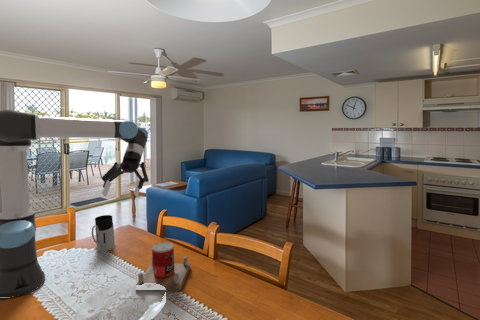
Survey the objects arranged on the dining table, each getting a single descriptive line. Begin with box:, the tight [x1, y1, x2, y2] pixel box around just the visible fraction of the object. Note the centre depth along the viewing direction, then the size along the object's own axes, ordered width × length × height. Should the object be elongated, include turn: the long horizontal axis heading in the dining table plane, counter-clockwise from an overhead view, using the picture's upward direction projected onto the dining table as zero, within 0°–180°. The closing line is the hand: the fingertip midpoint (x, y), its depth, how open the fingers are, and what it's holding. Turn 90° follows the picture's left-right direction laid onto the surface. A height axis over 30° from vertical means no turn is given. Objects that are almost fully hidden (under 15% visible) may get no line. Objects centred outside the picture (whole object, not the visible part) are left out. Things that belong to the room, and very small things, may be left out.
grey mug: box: [91, 214, 117, 252], centre depth 132 cm, size 9×14×15 cm, turn 176°
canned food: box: [151, 241, 175, 279], centre depth 106 cm, size 8×8×11 cm
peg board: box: [135, 256, 191, 293], centre depth 106 cm, size 16×16×6 cm
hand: (119, 194), depth 117 cm, fingers open, 13 cm apart
